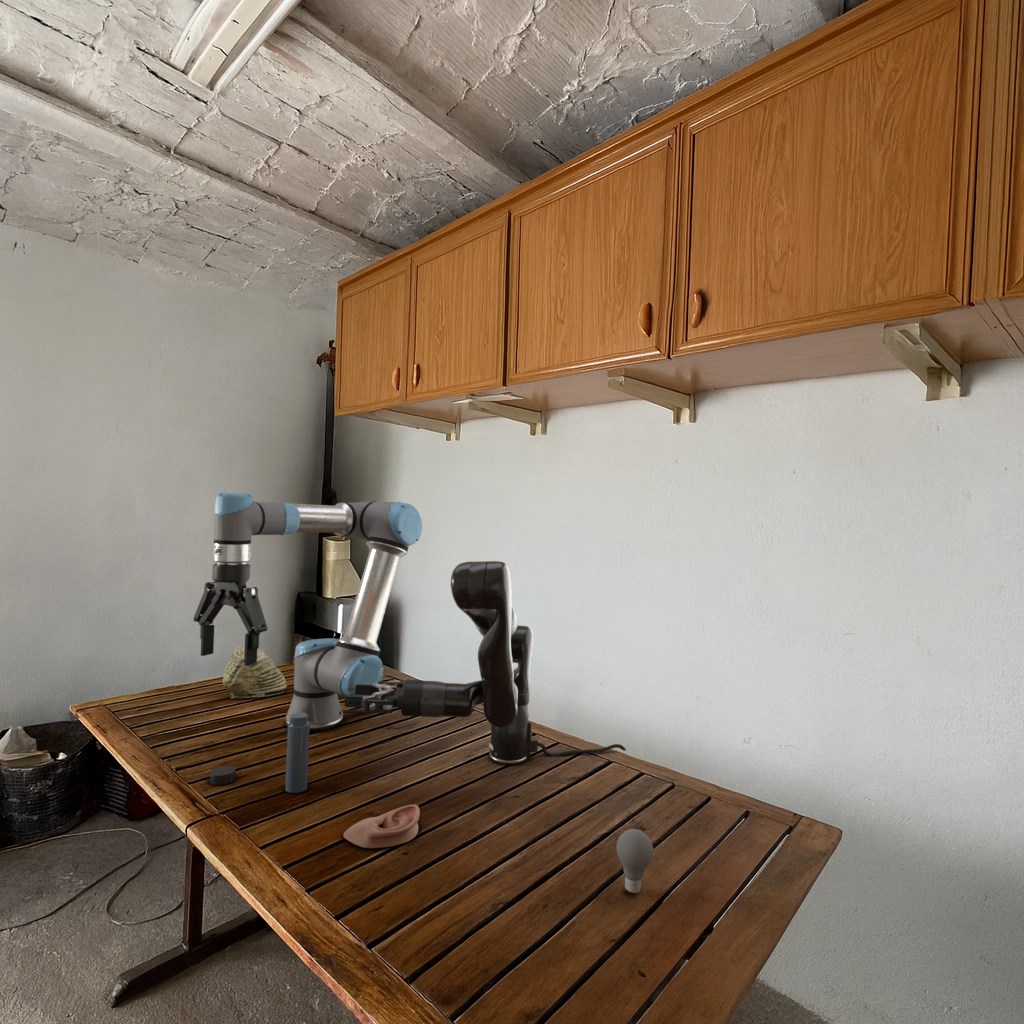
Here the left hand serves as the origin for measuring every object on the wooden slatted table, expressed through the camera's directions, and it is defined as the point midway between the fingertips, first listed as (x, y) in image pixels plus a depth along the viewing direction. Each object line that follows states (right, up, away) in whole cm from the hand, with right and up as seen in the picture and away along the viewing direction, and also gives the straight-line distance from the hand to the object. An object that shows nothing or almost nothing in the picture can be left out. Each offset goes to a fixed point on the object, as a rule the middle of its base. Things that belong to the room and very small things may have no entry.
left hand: (228, 659), depth 139 cm
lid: (-1, -25, 0) cm, 25 cm away
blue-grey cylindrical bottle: (+16, -28, -2) cm, 32 cm away
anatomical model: (+38, -29, -19) cm, 51 cm away
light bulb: (+83, -31, -34) cm, 94 cm away
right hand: (+28, -7, -3) cm, 29 cm away
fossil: (-18, -25, +59) cm, 66 cm away
